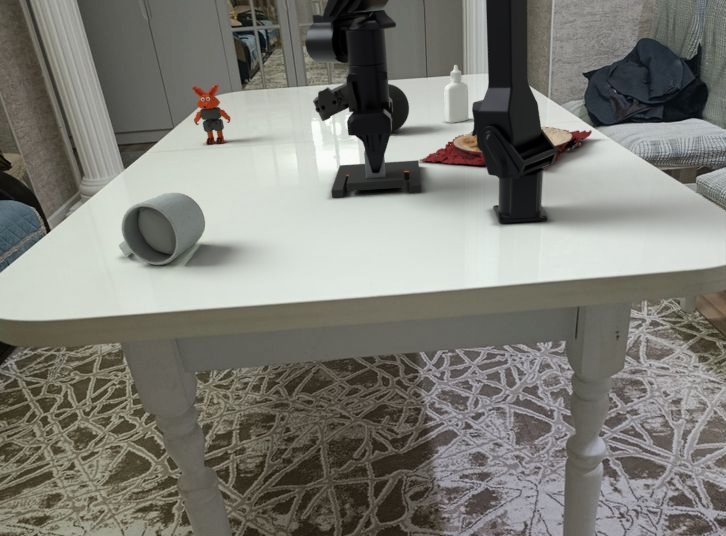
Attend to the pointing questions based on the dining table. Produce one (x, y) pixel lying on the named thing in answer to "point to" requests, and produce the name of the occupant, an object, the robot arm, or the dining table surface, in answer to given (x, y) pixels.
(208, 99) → the toy animal
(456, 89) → the eye dropper bottle
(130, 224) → the ceramic mug
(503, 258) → the dining table surface
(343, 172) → the dock pad
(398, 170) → the loose pad
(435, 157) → the plate with food
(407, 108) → the dark grey ball
